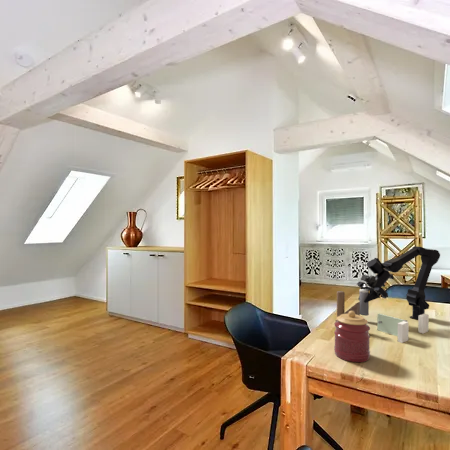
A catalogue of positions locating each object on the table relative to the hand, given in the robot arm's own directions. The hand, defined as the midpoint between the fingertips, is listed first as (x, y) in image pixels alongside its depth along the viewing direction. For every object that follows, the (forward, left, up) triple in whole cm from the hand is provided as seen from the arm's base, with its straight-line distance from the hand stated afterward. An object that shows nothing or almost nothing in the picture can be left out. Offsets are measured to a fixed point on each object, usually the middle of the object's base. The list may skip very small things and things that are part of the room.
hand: (361, 301), depth 162 cm
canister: (+43, +22, -11) cm, 49 cm away
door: (+6, +19, -11) cm, 22 cm away
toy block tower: (+17, +3, -11) cm, 20 cm away
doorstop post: (-1, +1, -7) cm, 7 cm away
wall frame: (0, +26, -11) cm, 28 cm away
